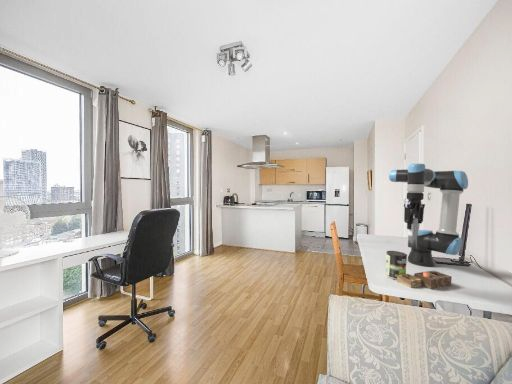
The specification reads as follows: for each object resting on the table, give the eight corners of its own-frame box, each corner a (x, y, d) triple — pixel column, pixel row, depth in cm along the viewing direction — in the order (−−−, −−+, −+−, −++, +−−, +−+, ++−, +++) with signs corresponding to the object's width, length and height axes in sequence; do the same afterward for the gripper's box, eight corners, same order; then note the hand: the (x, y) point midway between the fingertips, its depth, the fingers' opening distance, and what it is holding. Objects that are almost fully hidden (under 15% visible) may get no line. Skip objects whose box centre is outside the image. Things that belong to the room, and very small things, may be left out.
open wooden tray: (407, 279, 130) (407, 273, 130) (421, 285, 122) (421, 279, 122) (396, 281, 127) (397, 275, 127) (410, 287, 120) (411, 281, 120)
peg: (418, 247, 123) (420, 218, 122) (413, 248, 122) (414, 218, 121) (411, 245, 127) (412, 217, 126) (406, 246, 125) (407, 217, 125)
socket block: (433, 278, 132) (433, 270, 132) (451, 285, 124) (451, 276, 123) (413, 282, 127) (414, 273, 127) (430, 289, 118) (431, 279, 118)
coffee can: (410, 279, 130) (411, 255, 130) (396, 281, 128) (397, 256, 127) (395, 272, 140) (396, 250, 140) (381, 274, 138) (382, 251, 137)
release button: (425, 280, 125) (425, 271, 125) (430, 283, 123) (431, 274, 122) (421, 281, 124) (421, 272, 124) (427, 283, 122) (427, 274, 121)
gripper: (418, 192, 130) (416, 232, 130) (397, 191, 124) (395, 234, 124) (433, 192, 123) (430, 235, 123) (411, 192, 117) (408, 237, 117)
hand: (412, 234), depth 124 cm, fingers closed on peg, 4 cm apart
